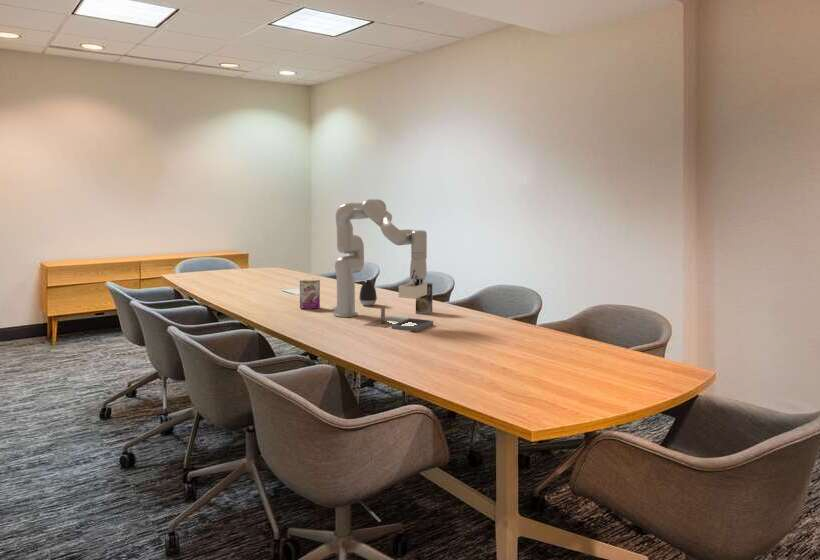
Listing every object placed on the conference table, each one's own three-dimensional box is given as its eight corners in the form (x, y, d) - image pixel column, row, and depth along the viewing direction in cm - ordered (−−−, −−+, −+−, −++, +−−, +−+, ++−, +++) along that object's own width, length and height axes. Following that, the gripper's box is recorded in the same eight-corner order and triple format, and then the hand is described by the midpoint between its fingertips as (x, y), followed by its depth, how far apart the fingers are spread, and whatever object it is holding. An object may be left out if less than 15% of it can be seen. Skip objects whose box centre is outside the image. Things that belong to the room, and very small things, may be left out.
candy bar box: (299, 309, 343) (299, 280, 341) (300, 307, 348) (299, 279, 345) (320, 308, 344) (319, 280, 342) (320, 307, 349) (319, 279, 347)
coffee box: (432, 311, 337) (433, 283, 335) (431, 314, 331) (432, 284, 329) (416, 311, 338) (416, 282, 336) (415, 313, 332) (415, 284, 330)
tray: (391, 329, 291) (391, 325, 291) (408, 322, 308) (409, 318, 308) (416, 332, 285) (416, 327, 285) (433, 325, 302) (433, 320, 302)
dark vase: (357, 304, 361) (357, 278, 358) (375, 303, 363) (375, 278, 361) (360, 307, 351) (360, 280, 349) (378, 306, 353) (378, 280, 351)
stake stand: (362, 326, 298) (362, 310, 297) (379, 320, 313) (379, 304, 312) (386, 329, 292) (386, 312, 291) (402, 322, 308) (402, 307, 307)
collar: (398, 297, 290) (398, 285, 290) (411, 293, 303) (411, 282, 302) (414, 298, 287) (414, 287, 286) (426, 294, 299) (427, 283, 298)
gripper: (418, 254, 306) (418, 290, 309) (405, 256, 293) (405, 294, 295) (432, 254, 303) (432, 291, 306) (419, 257, 289) (419, 295, 292)
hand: (418, 292), depth 300 cm, fingers closed on collar, 1 cm apart
